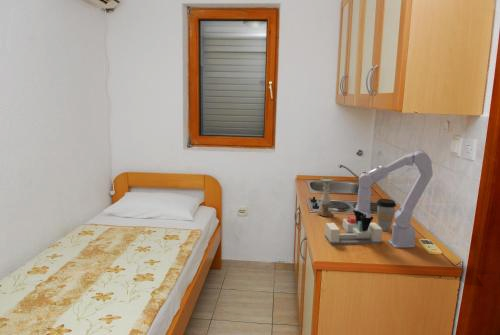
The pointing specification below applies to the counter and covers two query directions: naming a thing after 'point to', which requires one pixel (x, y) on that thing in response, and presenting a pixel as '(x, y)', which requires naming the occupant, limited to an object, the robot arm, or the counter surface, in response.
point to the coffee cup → (385, 213)
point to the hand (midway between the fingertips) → (361, 227)
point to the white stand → (352, 235)
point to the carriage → (360, 231)
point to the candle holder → (325, 198)
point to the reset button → (351, 220)
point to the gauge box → (348, 226)
